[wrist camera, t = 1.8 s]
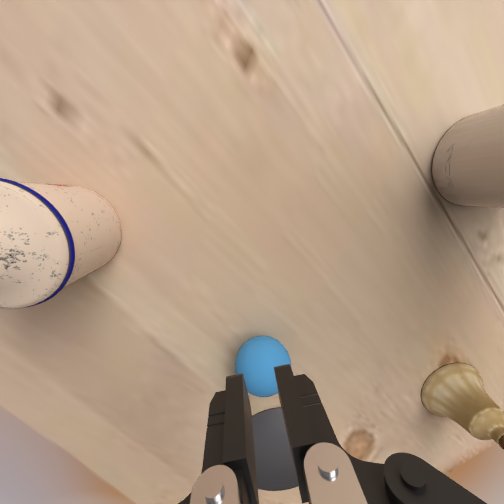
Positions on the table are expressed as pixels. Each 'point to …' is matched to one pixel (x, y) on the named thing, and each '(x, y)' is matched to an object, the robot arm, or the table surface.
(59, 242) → the teacup with lid
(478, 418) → the hand bell
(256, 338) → the ball
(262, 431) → the charcoal disc
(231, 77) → the table surface
